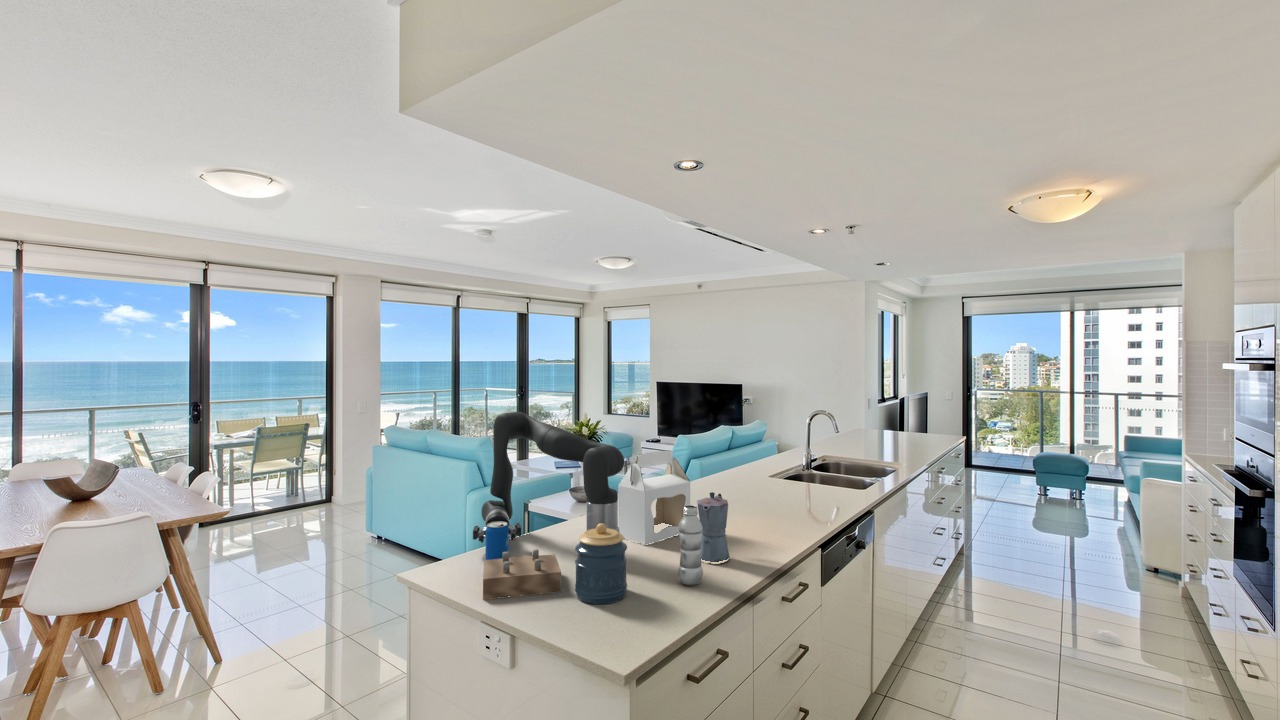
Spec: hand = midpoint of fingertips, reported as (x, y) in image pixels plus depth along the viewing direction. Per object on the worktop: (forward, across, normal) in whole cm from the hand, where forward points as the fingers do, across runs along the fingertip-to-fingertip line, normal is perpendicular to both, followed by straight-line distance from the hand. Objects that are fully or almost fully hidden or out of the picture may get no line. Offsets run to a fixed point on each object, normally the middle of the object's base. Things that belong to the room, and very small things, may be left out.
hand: (497, 538), depth 164 cm
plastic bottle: (+31, +49, +7) cm, 58 cm away
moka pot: (+15, +62, +7) cm, 64 cm away
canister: (+32, +25, +7) cm, 41 cm away
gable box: (-13, +52, +7) cm, 54 cm away
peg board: (+21, +6, +7) cm, 23 cm away
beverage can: (+5, 0, +7) cm, 8 cm away
